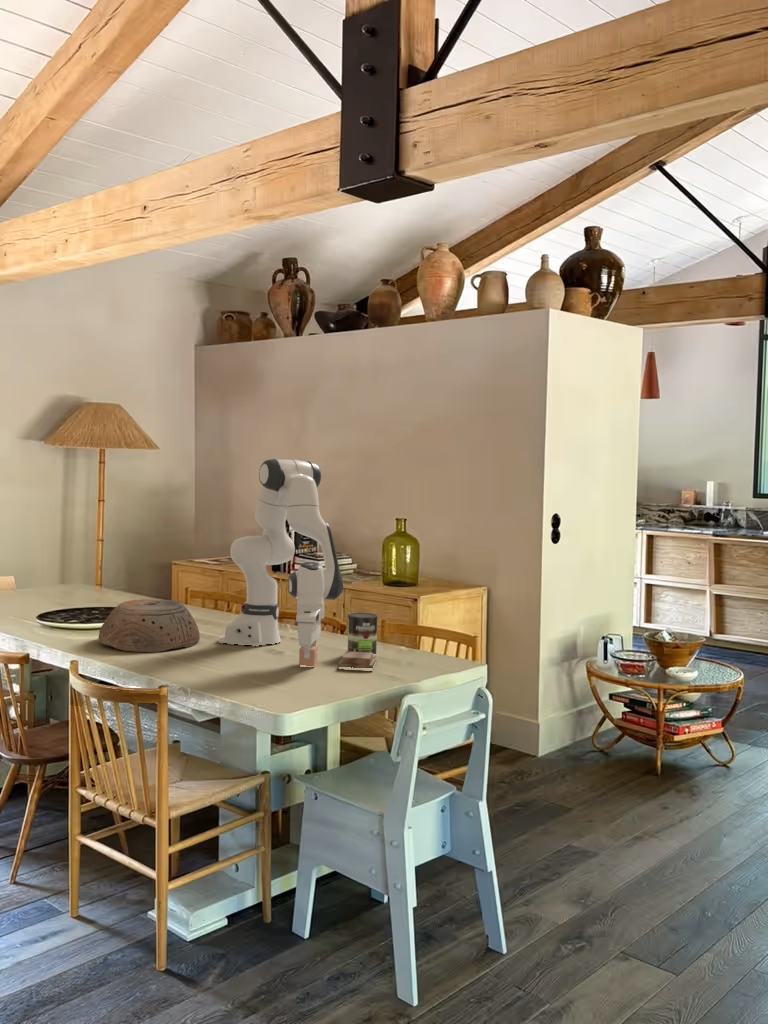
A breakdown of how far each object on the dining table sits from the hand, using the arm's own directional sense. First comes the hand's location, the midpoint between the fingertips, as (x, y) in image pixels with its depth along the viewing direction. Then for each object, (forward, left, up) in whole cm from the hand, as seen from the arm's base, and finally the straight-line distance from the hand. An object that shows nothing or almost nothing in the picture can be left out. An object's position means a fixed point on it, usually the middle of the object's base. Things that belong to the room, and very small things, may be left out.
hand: (309, 655), depth 301 cm
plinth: (+15, +2, -4) cm, 16 cm away
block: (-1, 0, -4) cm, 4 cm away
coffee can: (+14, +20, -4) cm, 25 cm away
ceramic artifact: (-63, +24, -4) cm, 67 cm away
